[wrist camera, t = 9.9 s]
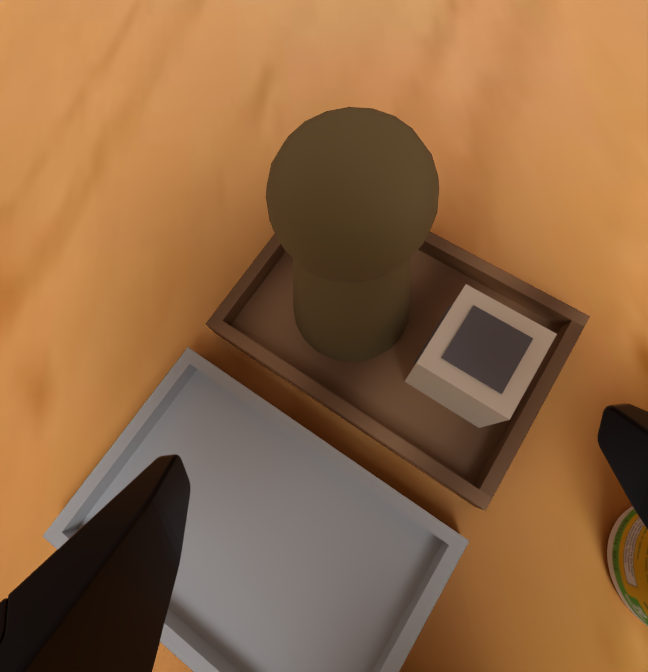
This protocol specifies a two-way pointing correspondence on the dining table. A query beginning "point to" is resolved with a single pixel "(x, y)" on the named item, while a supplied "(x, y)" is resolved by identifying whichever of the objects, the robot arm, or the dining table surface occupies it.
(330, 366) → the walnut tray
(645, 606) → the supplement bottle
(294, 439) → the grey tray
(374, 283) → the brown rounded upright piece
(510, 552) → the dining table surface
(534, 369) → the beige and grey cube
